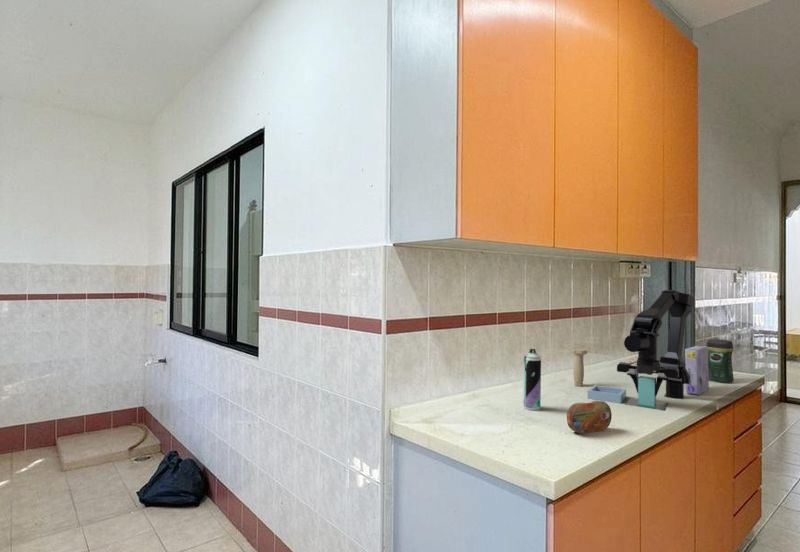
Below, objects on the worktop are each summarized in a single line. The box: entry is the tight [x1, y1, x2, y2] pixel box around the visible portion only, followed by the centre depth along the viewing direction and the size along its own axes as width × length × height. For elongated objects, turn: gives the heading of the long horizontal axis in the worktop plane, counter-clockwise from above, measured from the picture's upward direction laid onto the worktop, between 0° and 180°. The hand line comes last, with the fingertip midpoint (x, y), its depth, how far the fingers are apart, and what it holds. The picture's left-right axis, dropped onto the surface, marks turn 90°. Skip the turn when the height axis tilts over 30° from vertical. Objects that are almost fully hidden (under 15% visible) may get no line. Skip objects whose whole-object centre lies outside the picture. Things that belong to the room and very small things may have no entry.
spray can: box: [523, 348, 542, 411], centre depth 153 cm, size 6×6×20 cm
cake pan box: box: [684, 345, 710, 396], centre depth 183 cm, size 19×5×18 cm, turn 135°
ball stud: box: [625, 397, 669, 412], centre depth 159 cm, size 12×12×6 cm
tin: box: [566, 400, 613, 435], centre depth 130 cm, size 15×3×8 cm, turn 114°
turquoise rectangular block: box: [637, 375, 657, 406], centre depth 159 cm, size 5×5×9 cm
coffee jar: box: [706, 338, 734, 384], centre depth 203 cm, size 10×8×19 cm
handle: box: [570, 347, 588, 387], centre depth 189 cm, size 5×6×15 cm
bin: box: [587, 384, 627, 404], centre depth 166 cm, size 11×11×4 cm
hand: (647, 394), depth 159 cm, fingers closed on turquoise rectangular block, 5 cm apart
